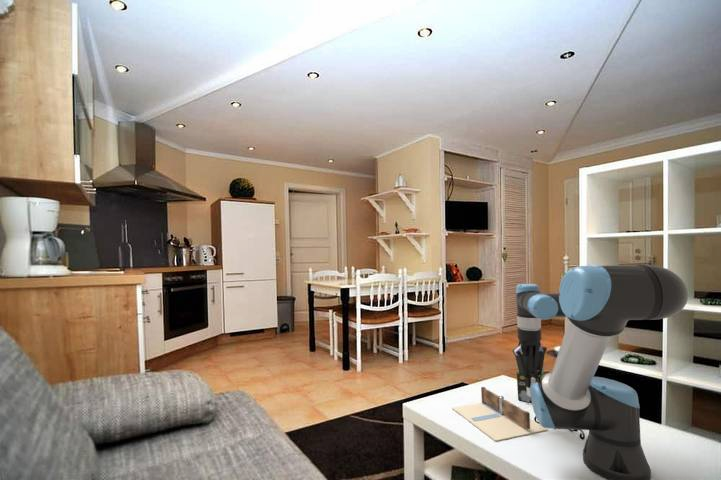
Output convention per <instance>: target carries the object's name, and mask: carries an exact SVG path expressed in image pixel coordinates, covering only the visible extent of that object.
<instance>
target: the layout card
mask: <svg viewBox="0 0 721 480" xmlns="http://www.w3.org/2000/svg"><path fill="white" fill-rule="evenodd" d="M451 408H452V409H451V410H454V412H456V413H457V414H458V415H460V416H461V417H463V418H464V419H465V420H466V421H467V422H469V423H470V424H472V425H473V426H474V427H476V428H477V429H478V430H479V431H480V432H482V433H483V434H484V435H486V436H487V437H489V438H490V439H491V440H492V441H493V442H495V443H496V442H500V441H506V440H509V439H515V438H519V437H523V436H524V437H525V436H529V435H533V434H537V433H543V432H547V431H549V428H544V427H543V426H541V425H540V423H539V422H537V421H535V420H533V419H531V418H530V429H526V428H525V427H523V426H522V425H520V424H518V423H517V422H515V421H514V420H512V419H510V418H509V417H507V416H506V415H500V411H498V410H496V409H495V408H493V407H491V406H490V405H488V404H487V403H484V404H483V403H482V402H479V403H478V402H477V403H473V404H467V405H461V406H456V407H451Z"/></svg>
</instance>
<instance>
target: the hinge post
mask: <svg viewBox="0 0 721 480" xmlns="http://www.w3.org/2000/svg"><path fill="white" fill-rule="evenodd" d="M498 396H499V408H500V415H504V410H503V400H505V397H504V395H498Z"/></svg>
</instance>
